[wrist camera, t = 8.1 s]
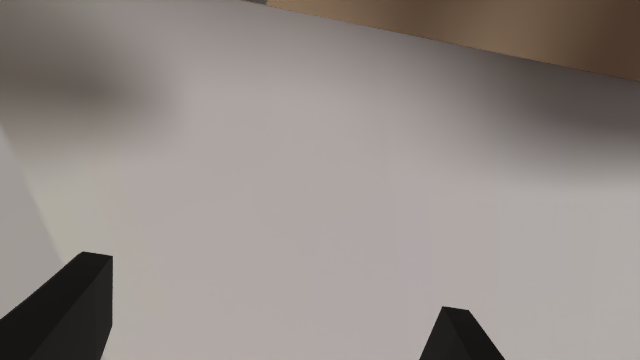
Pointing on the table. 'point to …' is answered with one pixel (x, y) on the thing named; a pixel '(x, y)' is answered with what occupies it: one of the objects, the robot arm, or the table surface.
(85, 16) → the table surface
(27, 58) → the table surface
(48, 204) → the table surface
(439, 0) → the strip empty
